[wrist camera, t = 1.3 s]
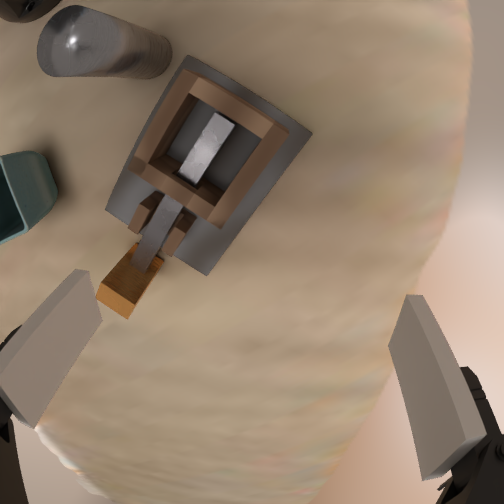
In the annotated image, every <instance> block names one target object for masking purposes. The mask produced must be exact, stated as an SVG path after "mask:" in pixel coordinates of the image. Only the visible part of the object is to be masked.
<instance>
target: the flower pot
mask: <svg viewBox="0 0 504 504" xmlns="http://www.w3.org/2000/svg"><path fill="white" fill-rule="evenodd" d="M57 194H58V189H57V187H56V184H55V182H54V179H53V177H52V174H51V171H50V168H49V165H48V162H47V160H46V158H45V157H44V156H42V155H41V154H39V153H37V152H34V151H22V152H16V153H11V154H7V155H2V156H0V245H2V244H3V243H5V242H7V241H9V240H12V239H13V238H16V237H18V236H20V235H22V234H25V233H27V232H28V231H29V230H30V229H31V228H32V227H33V226H34V225H36V224H37V223H38V222H39V221H40V220H41V219H42V218H43V217H44V216H45V215H47V214H48V213H49V211H50V210H51V209H52V208H53V206H54V204H55V202H56V199H57Z"/></svg>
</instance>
